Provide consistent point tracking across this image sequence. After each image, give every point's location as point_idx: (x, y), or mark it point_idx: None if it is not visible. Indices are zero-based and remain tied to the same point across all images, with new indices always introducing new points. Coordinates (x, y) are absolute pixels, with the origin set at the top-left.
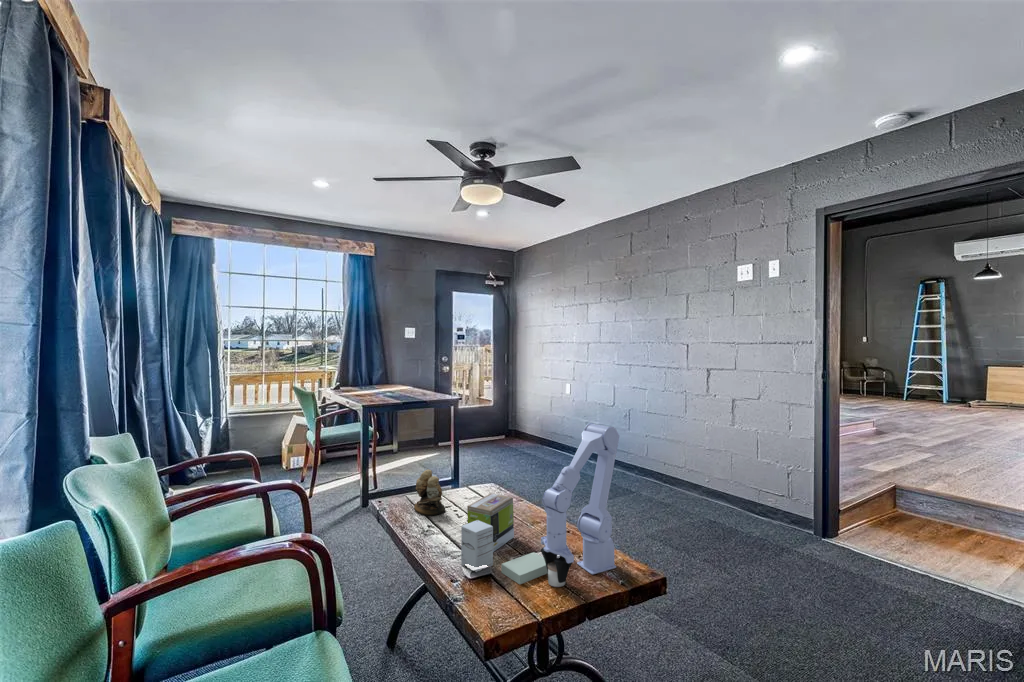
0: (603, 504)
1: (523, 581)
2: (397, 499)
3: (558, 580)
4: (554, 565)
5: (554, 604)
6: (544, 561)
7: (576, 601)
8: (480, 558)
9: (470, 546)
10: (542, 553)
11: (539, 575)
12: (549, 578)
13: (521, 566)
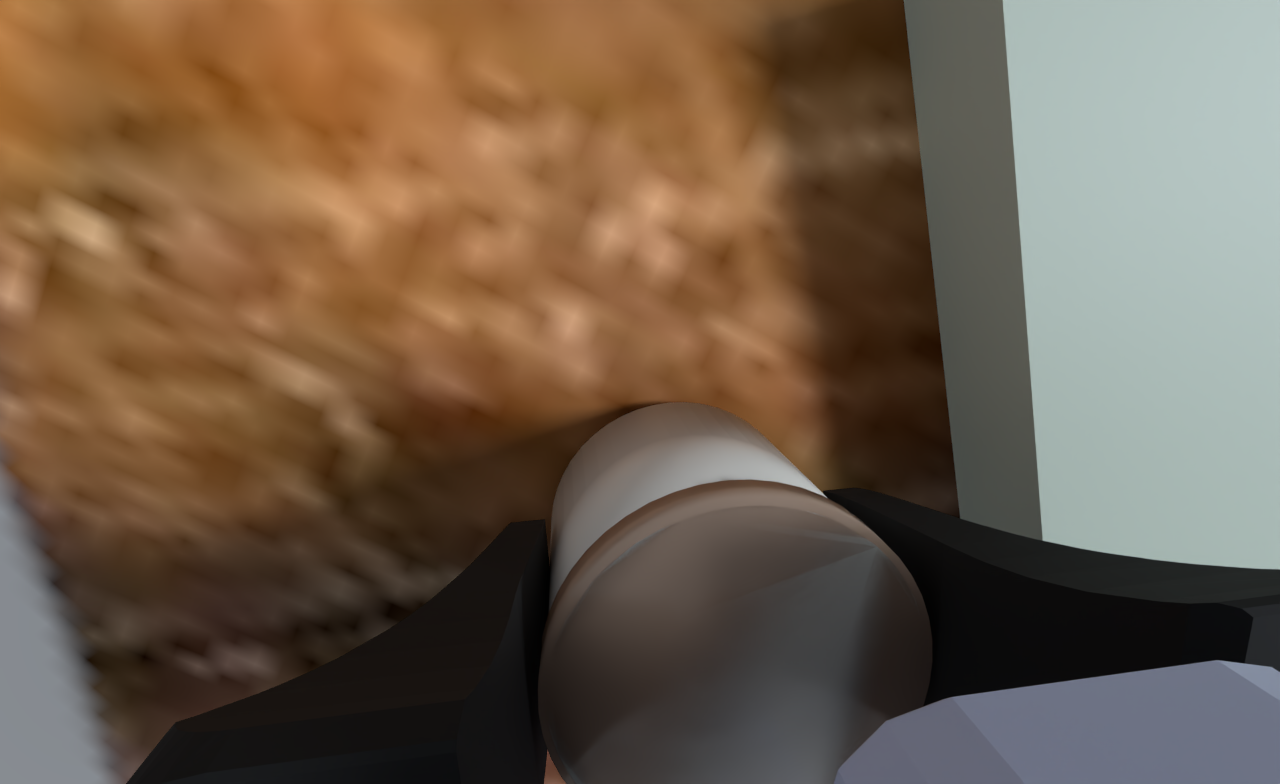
0: None
1: (923, 63)
2: None
3: (529, 525)
4: (754, 640)
5: (151, 219)
6: None
7: (140, 549)
8: None
9: None
10: (1235, 578)
11: (954, 387)
12: (685, 428)
13: (1249, 140)
